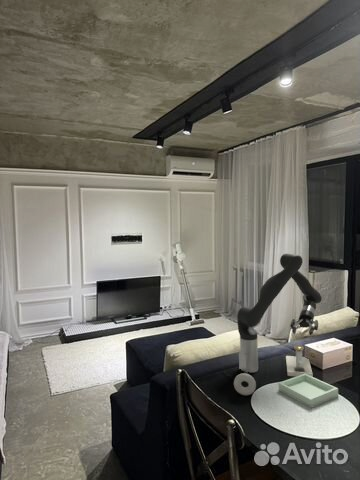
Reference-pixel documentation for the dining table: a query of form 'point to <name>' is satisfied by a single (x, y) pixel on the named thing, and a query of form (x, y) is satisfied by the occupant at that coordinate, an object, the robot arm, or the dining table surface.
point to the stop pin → (299, 358)
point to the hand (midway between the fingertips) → (301, 333)
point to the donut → (247, 378)
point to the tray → (308, 390)
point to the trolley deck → (292, 366)
